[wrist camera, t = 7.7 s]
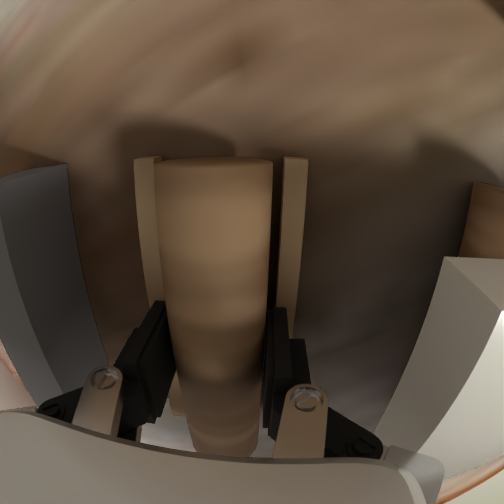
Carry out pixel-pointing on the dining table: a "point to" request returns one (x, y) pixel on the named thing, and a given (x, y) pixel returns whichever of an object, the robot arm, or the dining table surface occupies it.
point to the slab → (455, 372)
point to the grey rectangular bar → (44, 286)
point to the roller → (216, 291)
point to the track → (300, 236)
